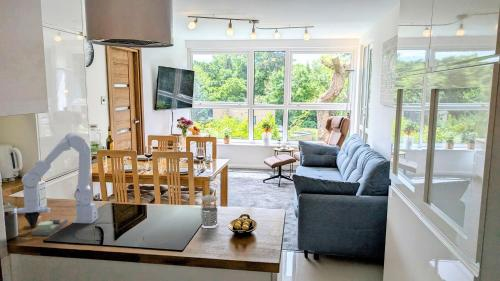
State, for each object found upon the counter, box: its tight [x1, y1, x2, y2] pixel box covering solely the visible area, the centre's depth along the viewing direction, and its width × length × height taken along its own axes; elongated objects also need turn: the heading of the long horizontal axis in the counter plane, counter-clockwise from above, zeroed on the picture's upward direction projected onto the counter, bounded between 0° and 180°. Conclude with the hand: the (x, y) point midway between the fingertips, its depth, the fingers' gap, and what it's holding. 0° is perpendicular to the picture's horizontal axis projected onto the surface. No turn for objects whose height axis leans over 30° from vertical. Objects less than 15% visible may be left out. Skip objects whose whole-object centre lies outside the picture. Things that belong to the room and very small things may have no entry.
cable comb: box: [31, 218, 68, 236], centre depth 166 cm, size 8×16×2 cm, turn 179°
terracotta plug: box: [26, 215, 44, 228], centre depth 170 cm, size 5×4×4 cm
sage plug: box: [37, 220, 54, 231], centre depth 163 cm, size 5×4×4 cm
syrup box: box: [37, 180, 48, 207], centre depth 194 cm, size 6×6×14 cm
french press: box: [200, 175, 219, 226], centre depth 171 cm, size 10×12×25 cm
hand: (33, 227), depth 162 cm, fingers closed
